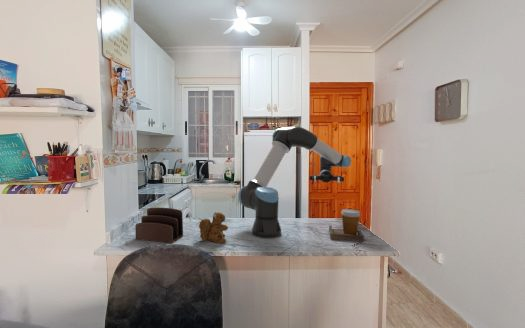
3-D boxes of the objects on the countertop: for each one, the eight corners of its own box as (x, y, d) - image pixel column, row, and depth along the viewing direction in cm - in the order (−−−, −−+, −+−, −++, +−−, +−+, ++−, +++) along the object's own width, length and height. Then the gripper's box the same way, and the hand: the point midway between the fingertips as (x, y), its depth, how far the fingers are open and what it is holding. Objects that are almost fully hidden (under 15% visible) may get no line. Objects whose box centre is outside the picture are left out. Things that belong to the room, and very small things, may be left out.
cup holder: (329, 229, 146) (329, 224, 146) (358, 231, 143) (358, 226, 143) (330, 239, 131) (330, 233, 131) (363, 241, 128) (363, 236, 128)
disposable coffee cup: (356, 231, 142) (357, 209, 141) (362, 237, 132) (363, 213, 132) (338, 230, 142) (339, 208, 141) (342, 236, 133) (343, 213, 132)
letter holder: (148, 233, 137) (147, 206, 136) (183, 236, 133) (183, 208, 132) (135, 239, 127) (134, 210, 126) (172, 243, 123) (172, 213, 122)
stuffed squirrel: (227, 243, 124) (227, 215, 123) (196, 243, 123) (196, 215, 122) (228, 236, 134) (228, 210, 133) (199, 236, 133) (199, 210, 132)
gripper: (345, 182, 172) (349, 187, 151) (306, 181, 177) (304, 185, 156) (345, 171, 172) (349, 174, 151) (306, 169, 177) (305, 173, 156)
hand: (326, 180), depth 154 cm, fingers open, 13 cm apart
